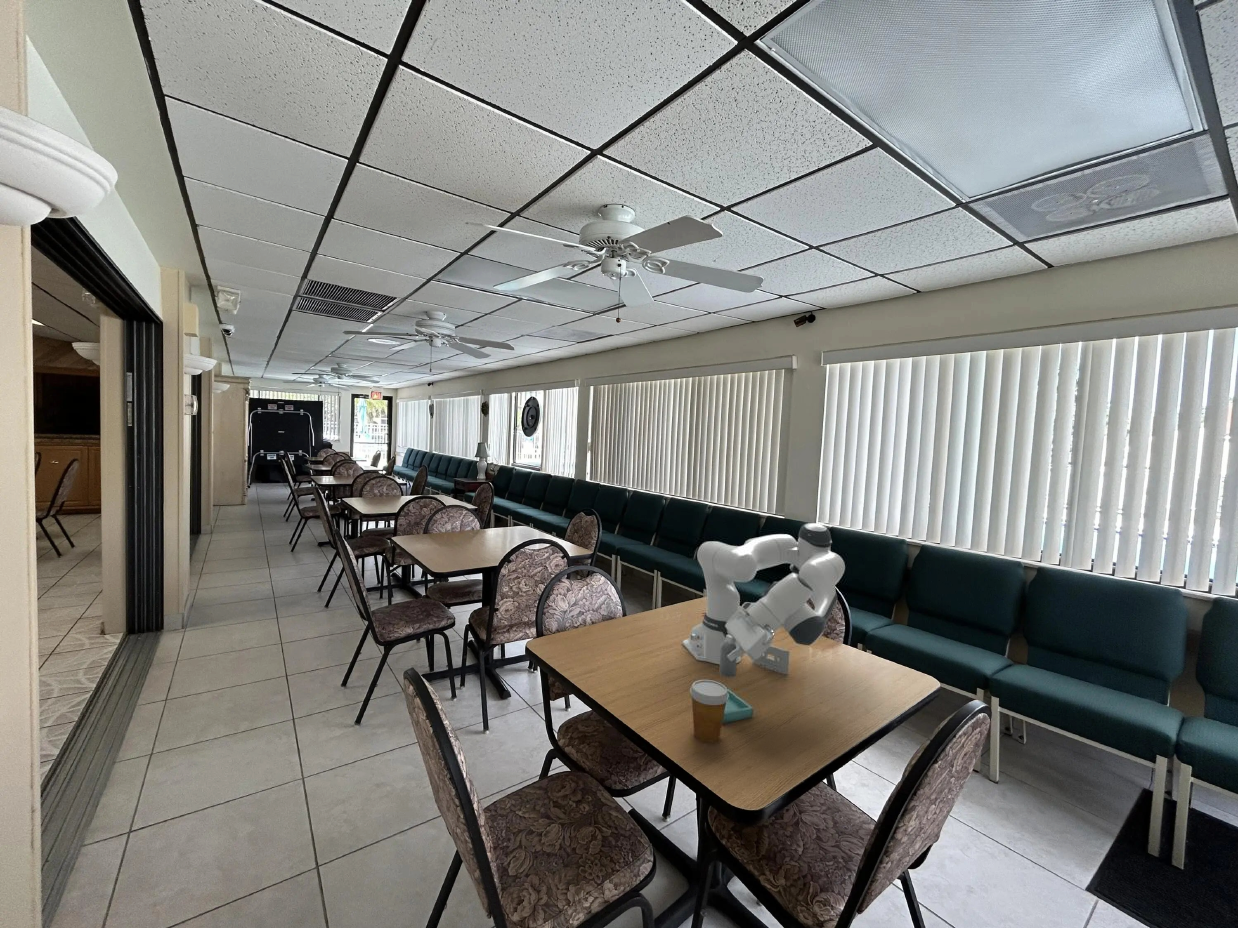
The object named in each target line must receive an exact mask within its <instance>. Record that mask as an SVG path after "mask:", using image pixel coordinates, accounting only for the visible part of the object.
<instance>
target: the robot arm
mask: <svg viewBox="0 0 1238 928" xmlns="http://www.w3.org/2000/svg"><path fill="white" fill-rule="evenodd" d="M832 544H833V541H832V537H831V532H830V529H828V528H827V527H826V526H825V525H823V524H820V523H814V522H811V523H805V524H803V525H801V527H800V529H799V532H798V539H797V540H796V539H795V538H794V537H793V536H792V535H790V534H787V533H786V534H784V533H778V534H777V533H776V534H767V535H763V536H762V535H761V536H759V537H753V538H749V539H747V540H745V542H744V544H743V545H739V546H738V545H730V544H728V543H724V542H721V541H715V540H713V541H704V542H703V543H702V544H700V546H699V547H698V550H697V554H696V557H697V561H698V564H699V565H700V567H701V570H702V572H703V577H704V581H705V588H706V608H705V609H706V611H705V612H703V613H701V617H703V619H702V621H701V623H698V625H696V626H693V627H692V628H691V630H690V634H689V638H686V639H684V640H683V641H682V645H683V646H684V647H685V648H686V650H687V651H688V652H689V653H690V654H691V655H692V656H693V657H694V658H695V660H697V661H701V662H708V663H712V664H715V665H716V664H717V665H720V652H721V646H722V644H723V643H724V642H726V635H730V636H732V637H733V643H734V644H735V646H736V648H737V649H735V650H733V651H732V652H731V651H729V653H727V655H726V656H727V657H728V659H729V660H730V661H733V660H734V659H735V658H736V657H737V660H736V664H738V663H739V662H741V661H742V658H741V657H742V656H744V655H745V654H746V655H747V656H748V657H749V659H751V660H752V661H753V660H756V659H758V658H759V657H760V656H761V655H762V654H764V652H765V651H766V650H767V649H768V648H769V646H770V645H772V643H773V640H774V639H775V634H776V632H777V631H778V630H779V629H780V628H781V627H782V628H783V629H784V630H785V631H786V632H787V633H788V634H789V636H790V638H791V639H792V640H793V641H794V643H796V644H798V645H802V646H810V645H812V644H814V643H816V642H817V641H818V640H819V639H820V638H821V637H822V635H823V634H824V630H825V629H826V626H827V622H828V620H829V618H830V616H831V614H832V612H833V610H834V608H835V606H836V603H837V600H838V595H837V592H836V585H837V584H838V583H839V582H840V580H841V579H842V577H843V575H844V573H845V570H846V565H845V561H844V560H843V558H842V556H840V555H839V554H837V553H836V552H833V551H831V546H832ZM781 564H790V566H789V569H790V571H791V573H789V574H788V575H786V576H785V577H783V578H782V579H781V580H779V581H773V582H772V584H770V585H769V586H768V587H767V588H766V589H764V591H763V592H762V597H761V598H759V600H757V601H756V602H748V601H746V602H744V603H743V604H742V605H741V608H740V603H741V601H740V600H741V599H740V597H741V596H740V592H738V590H737V588H736V586H735V583H734V582H737V583H748V582H750V581H751V580H753V579H754V578H755V576H756V574H757V573H758V572H757V571H760V570H764V569H767V568H768V569H769V568H772V567H775V566H779V565H781ZM809 599H810V601H811V602H812V604H813V606H814V609H812V607H811V606H810V605H809V604H808V603H807V602H808V600H809Z"/></svg>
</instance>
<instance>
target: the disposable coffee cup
mask: <svg viewBox="0 0 1238 928" xmlns="http://www.w3.org/2000/svg"><path fill="white" fill-rule="evenodd" d="M727 689H728V687H726V686H725V685H724V684H723V683H721V682H719V681H715V680H713V679H712V680H710V679H700V680H696V681H694V682H693V683H692V685H691V687H690V688H689V693H690V697H691V704H692V705H691V706H692V723H693V734H694V737H695V738H697V739H698V740H699V741H702V742H705V743H714V742H717V741H719V740H720V737H721V732H722V727H723V726H722V725H723V723H722V721H723V716H724V711H725V706H726V701H727V700H728V698H729V694H728V692H727Z"/></svg>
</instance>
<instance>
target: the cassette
mask: <svg viewBox="0 0 1238 928" xmlns="http://www.w3.org/2000/svg"><path fill="white" fill-rule="evenodd" d="M768 655H770V656H768ZM771 656H773V657H771ZM752 664H754V665H757V666H758V667H761V668H764V669H767V670H770V671H774V672H776V673H779V674H784V675H788V674H789V666H790V651H789V650H788V649H784V648H781V647H778V646H775V645H772V644H771V645H770V646H769V648H768V649H767V650H766V651H765V652H764V653H763V654H762V655H761V656H760V657H759V658H758V659H756V660H752Z"/></svg>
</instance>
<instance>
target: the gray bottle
mask: <svg viewBox="0 0 1238 928" xmlns="http://www.w3.org/2000/svg"><path fill="white" fill-rule="evenodd" d="M735 649H737V648H736V646H735V644H734V643H733V637H732V636H730V635H726V642H724V643H723V644H722V646H721V652H720V664H719V674H720V675H721V676H723V677H726V678H727V677H729V678H732V677H735V676H736V675H737V663H736V660H737V657H736V658H735V659H734V660H733V661H730V660H729V659H728V657H727V656H726V655H727V653H729V651H731V652H732V651H733V650H735Z"/></svg>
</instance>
